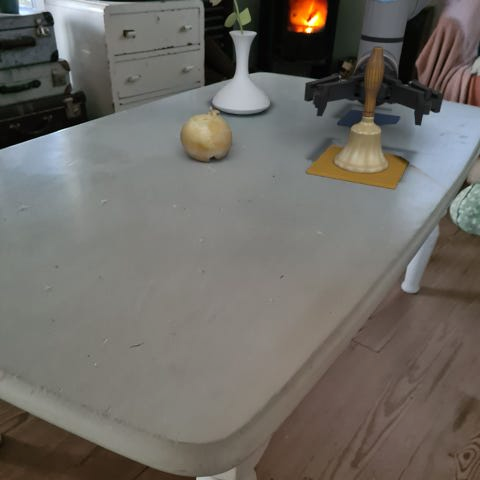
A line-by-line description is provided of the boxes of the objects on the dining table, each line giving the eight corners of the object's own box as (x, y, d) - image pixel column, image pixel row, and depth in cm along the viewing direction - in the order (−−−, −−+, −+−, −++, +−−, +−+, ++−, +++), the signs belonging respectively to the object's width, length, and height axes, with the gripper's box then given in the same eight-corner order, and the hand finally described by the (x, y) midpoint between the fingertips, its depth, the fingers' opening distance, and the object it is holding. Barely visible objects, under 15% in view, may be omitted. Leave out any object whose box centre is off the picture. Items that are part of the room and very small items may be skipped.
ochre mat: (394, 189, 72) (395, 186, 72) (306, 173, 76) (306, 170, 76) (409, 160, 82) (410, 157, 82) (330, 148, 86) (331, 145, 86)
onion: (228, 167, 77) (229, 118, 73) (176, 164, 78) (174, 115, 74) (234, 150, 84) (235, 104, 80) (186, 147, 84) (184, 101, 80)
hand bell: (354, 176, 74) (374, 54, 65) (322, 158, 80) (337, 43, 71) (399, 169, 77) (425, 50, 68) (366, 151, 83) (385, 40, 74)
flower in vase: (238, 100, 109) (241, -44, 94) (281, 111, 103) (291, -41, 88) (194, 112, 101) (190, -44, 86) (238, 124, 95) (242, -41, 80)
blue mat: (390, 132, 94) (390, 129, 94) (336, 124, 97) (337, 121, 97) (400, 118, 101) (400, 116, 101) (350, 111, 104) (350, 109, 104)
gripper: (445, 108, 88) (456, 147, 71) (300, 95, 92) (278, 129, 76) (457, 59, 83) (472, 89, 67) (304, 49, 88) (282, 74, 71)
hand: (369, 110), depth 71 cm, fingers open, 13 cm apart
